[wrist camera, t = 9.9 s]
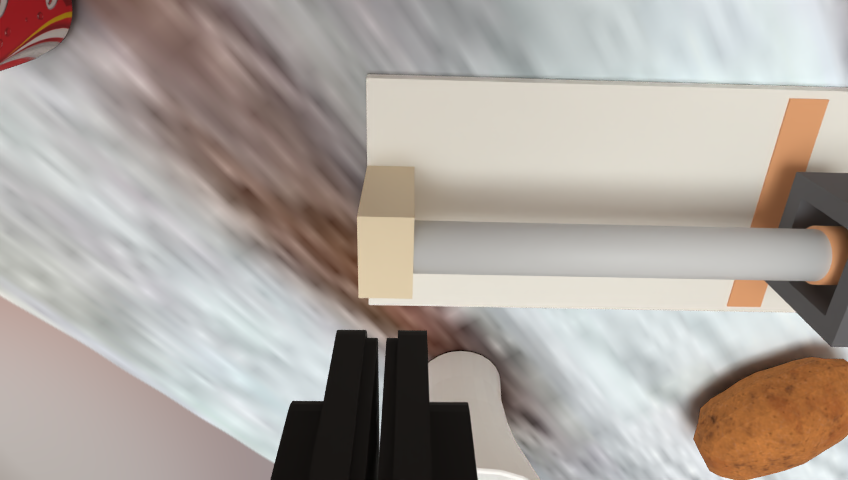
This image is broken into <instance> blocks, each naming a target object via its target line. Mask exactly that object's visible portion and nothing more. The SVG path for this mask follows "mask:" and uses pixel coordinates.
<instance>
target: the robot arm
mask: <svg viewBox="0 0 848 480" xmlns="http://www.w3.org/2000/svg"><path fill="white" fill-rule="evenodd" d="M271 480H478V477H477V469H476V460H475V452H474V443H473V435H472V426H471V418H470V410H469V405H468V402H429V375H428V347H427V331H400V330H398V338H387V341H386V356H385V372H384V388H383V404H382V420H381V436H380V452H379V379H378V338H367V331H366V330H337V333H336V338H335V343H334V348H333V354H332V359H331V364H330V370H329V375H328V380H327V386H326V391H325V396H324V401H292V403H291V404H290V407H289V410H288V414H287V418H286V422H285V425H284V429H283V433H282V437H281V441H280V445H279V449H278V453H277V457H276V460H275V464H274V468H273V472H272V476H271Z"/></svg>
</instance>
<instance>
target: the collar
mask: <svg viewBox="0 0 848 480" xmlns="http://www.w3.org/2000/svg"><path fill="white" fill-rule="evenodd" d="M810 226H844V227H845V228H847V229H848V173H824V172H796V175H795V178H794V181H793V184H792V187H791V190H790V193H789V197H788V200H787V203H786V206H785V209H784V212H783V215H782V218H781V221H780V224H779V227H778V228H789V229H806V228H808V227H810ZM764 281H765V282H766V283H767V284H768V285H769V286H770V287H771V288H772V289H773V290H774V291H775V292H776V293H777V294H778V295H779V296H780V297H781V298H782V299H783V300H784V301H785V302H786V303H787V304H788V305H790V306H791V307H792V308H793V309H794V310H795V311H796V312H797V313H798V314H799V315H800V316H801V317H802V318H803V319H804V320H805V321H806V322H807V323H808V324H809V325H810V326H811V327H812V328H813V329H814V330H815V331H816V332H817V333H818V334H819V335H820V336H821V337H822V338H823V339H824V340H825V341H826V342H827V343H828V344H829V345H830V346H831V347H848V259H847V262H846V264H845V267H844V269H843V272H842V274H841V277H840V279H839V282H838V285H812V284H809V283H807V282H806V281H771V280H764Z"/></svg>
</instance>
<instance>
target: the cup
mask: <svg viewBox="0 0 848 480" xmlns="http://www.w3.org/2000/svg"><path fill="white" fill-rule="evenodd" d="M428 375H429V402H468V405H469V410H470V418H471V426H472V435H473V443H474V452H475V460H476V469H477V477H478V480H540V478H539V477H538V475H537V474H536V472H535V471H534V469H533V468H532V466H531V464H530V463H529V461H528V460H527V458H526V457H525V455H524V453H523V452H522V450H521V449H520V447H519V446H518V444H517V442H516V441H515V439H514V436H513V434H512V432H511V430H510V427H509V425H508V423H507V419H506V416H505V412H504V409H503V405H502V401H501V387H500V375H499V373H498V371H497V369H496V367H495V366H494V365H493V364H492V363H491V361H490V360H488V359H486V358H485V357H483V356H482V355H479V354H476V353H473V352H466V351H455V352H448V353H446V354H443V355H440V356H438V357H436V358H435V359H433V360H431V361H430V362H429V363H428Z"/></svg>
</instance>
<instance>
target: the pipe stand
mask: <svg viewBox="0 0 848 480" xmlns="http://www.w3.org/2000/svg"><path fill="white" fill-rule="evenodd" d="M366 97H367V170H366V175H365V179H364V184H363V189H362V194H361V199H360V204H359V209H358V214H357V238H358V287H359V298H369V305H406V306H461V307H517V308H573V309H628V310H684V311H739V312H795V313H797V312H796V311H795V310H794V309H793V308H792V307H791V306H790V305H788V304H787V303H786V302H785V301H784V300H783V299H782V298H781V297H780V296H779V295H778V294H777V293H776V292H775V291H774V290H773V289H772V288H771V287H770V286H769V285H768V284H767V283H766V282H765V281H764V280H771V281H806V282H807V283H809V284H812V285H838V282H839V279H840V277H841V274H842V272H843V269H844V267H845V264H846V262H847V259H848V229H847V228H845V227H844V226H810V227H808V228H806V229H789V228H778V227H779V224H780V221H781V218H782V215H783V212H784V209H785V206H786V203H787V200H788V197H789V193H790V190H791V187H792V184H793V181H794V178H795V175H796V172H824V173H848V88H847V87H812V86H776V85H741V84H706V83H670V82H635V81H600V80H564V79H529V78H494V77H458V76H423V75H387V74H367V77H366Z"/></svg>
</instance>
